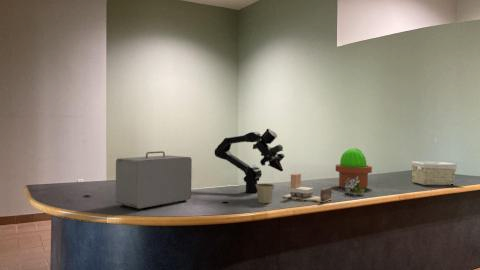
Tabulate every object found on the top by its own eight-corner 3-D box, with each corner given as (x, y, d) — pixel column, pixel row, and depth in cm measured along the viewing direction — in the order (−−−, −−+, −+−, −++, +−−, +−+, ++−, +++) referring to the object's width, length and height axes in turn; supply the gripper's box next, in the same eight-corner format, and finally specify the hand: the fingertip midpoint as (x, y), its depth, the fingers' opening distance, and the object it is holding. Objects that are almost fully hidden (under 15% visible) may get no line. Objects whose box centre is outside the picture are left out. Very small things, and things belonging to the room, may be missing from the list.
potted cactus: (334, 188, 230) (335, 148, 229) (336, 183, 251) (336, 146, 250) (372, 190, 223) (373, 149, 223) (370, 185, 244) (371, 147, 244)
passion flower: (347, 203, 211) (339, 184, 217) (365, 199, 213) (356, 181, 219) (353, 195, 202) (344, 175, 208) (371, 191, 204) (362, 172, 210)
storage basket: (442, 182, 265) (442, 161, 265) (457, 185, 249) (458, 163, 248) (409, 182, 263) (410, 161, 262) (423, 185, 246) (423, 163, 246)
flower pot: (274, 204, 179) (275, 186, 179) (255, 204, 180) (255, 186, 180) (274, 200, 189) (274, 183, 189) (255, 200, 189) (255, 183, 189)
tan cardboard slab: (282, 197, 197) (282, 185, 197) (291, 195, 205) (291, 183, 205) (324, 203, 184) (324, 189, 184) (331, 200, 193) (331, 187, 192)
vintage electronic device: (167, 196, 196) (167, 149, 196) (191, 201, 185) (191, 151, 184) (113, 206, 172) (113, 151, 171) (136, 212, 160) (137, 153, 160)
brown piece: (289, 195, 196) (289, 174, 196) (296, 193, 202) (296, 173, 202) (307, 198, 190) (307, 176, 190) (313, 195, 197) (313, 174, 197)
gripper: (265, 140, 197) (283, 162, 191) (281, 139, 213) (299, 159, 207) (252, 154, 202) (270, 176, 196) (269, 152, 217) (286, 172, 211)
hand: (282, 170), depth 202 cm, fingers closed
